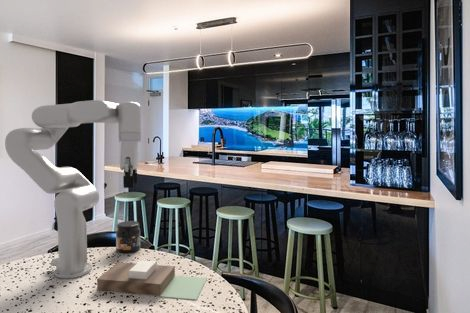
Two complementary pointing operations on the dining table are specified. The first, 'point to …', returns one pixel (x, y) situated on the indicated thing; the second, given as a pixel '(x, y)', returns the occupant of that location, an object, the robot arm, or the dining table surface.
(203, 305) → the dining table surface
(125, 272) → the deck
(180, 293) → the mat
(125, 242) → the supplement container
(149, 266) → the white rectangular block
